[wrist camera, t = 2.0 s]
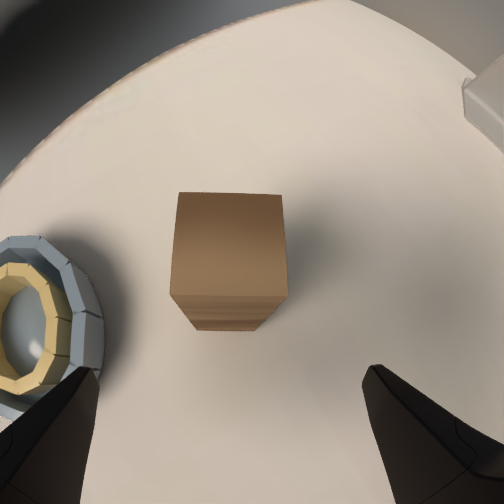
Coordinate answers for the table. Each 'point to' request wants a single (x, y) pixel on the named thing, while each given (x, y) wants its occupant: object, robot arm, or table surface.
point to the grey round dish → (43, 322)
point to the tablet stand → (486, 102)
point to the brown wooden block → (228, 259)
